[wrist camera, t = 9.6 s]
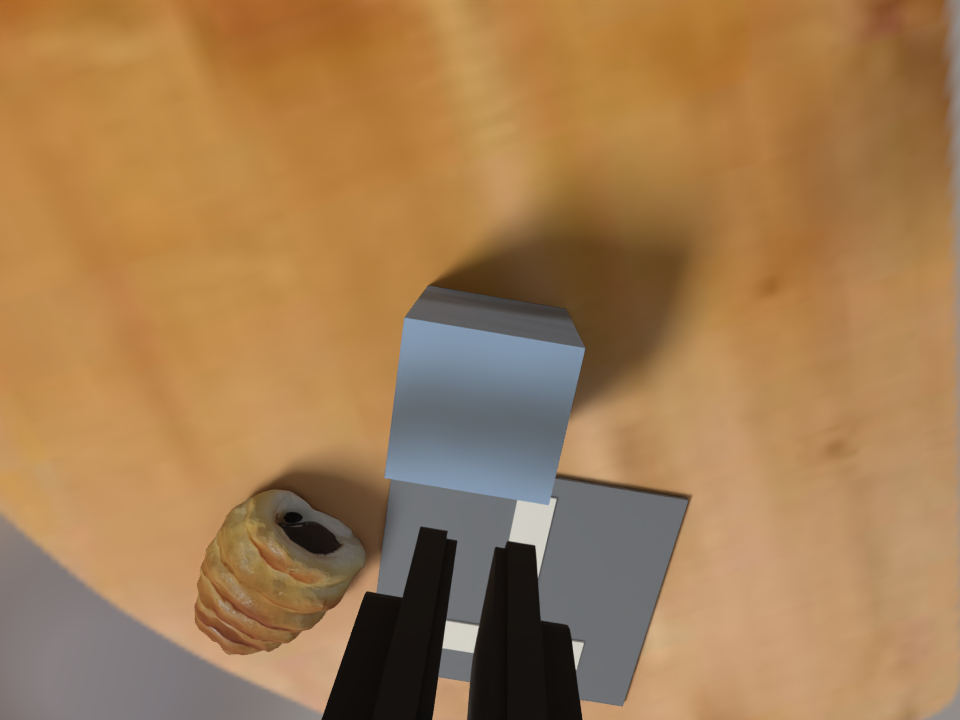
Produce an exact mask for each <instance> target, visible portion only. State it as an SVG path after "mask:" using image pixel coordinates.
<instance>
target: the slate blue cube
mask: <svg viewBox="0 0 960 720" xmlns="http://www.w3.org/2000/svg"><path fill="white" fill-rule="evenodd" d="M584 352H585V346H584V344H583V342H582V340H581V338H580V336H579V334H578V332H577V330H576V328H575V326H574V324H573V322H572V320H571V318H570V316H569V314H568V312H567V310H566V309H564V308H558V307H552V306H546V305H540V304H535V303H529V302H523V301H517V300H511V299H505V298H499V297H493V296H487V295H481V294H476V293H470V292H464V291H458V290H452V289H446V288H440V287H434V286H427V288H426V289H425V290H424V292H423V293H422V294H421V296H420V297H419V298H418V300H417V301H416V302H415V304H414V305H413V307H412V308H411V309H410V311H409V312H408V313H407V315H406V316H405V317H404V325H403V333H402V341H401V349H400V357H399V365H398V373H397V381H396V389H395V397H394V405H393V414H392V422H391V430H390V438H389V446H388V454H387V462H386V470H385V478H387V479H393V480H399V481H405V482H411V483H417V484H423V485H429V486H435V487H441V488H447V489H453V490H459V491H466V492H472V493H478V494H484V495H490V496H496V497H502V498H508V499H514V500H520V501H526V502H532V503H538V504H544V505H549V503H550V498H551V494H552V490H553V485H554V481H555V477H556V473H557V468H558V464H559V460H560V455H561V451H562V447H563V442H564V438H565V434H566V430H567V425H568V421H569V417H570V412H571V408H572V404H573V399H574V395H575V391H576V387H577V382H578V378H579V374H580V369H581V365H582V361H583V357H584Z"/></svg>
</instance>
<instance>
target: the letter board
mask: <svg viewBox="0 0 960 720" xmlns="http://www.w3.org/2000/svg"><path fill="white" fill-rule="evenodd" d="M687 503H688V499H687V498H683V497H677V496H671V495H665V494H659V493H653V492H647V491H640V490H634V489H628V488H622V487H616V486H610V485H604V484H598V483H592V482H586V481H579V480H573V479H567V478H561V477H555V481H554V485H553V490H552V494H551V498H550V503H549V505H544V504H538V503H532V502H526V501H520V500H514V499H508V498H502V497H496V496H490V495H484V494H478V493H472V492H466V491H459V490H453V489H447V488H441V487H435V486H429V485H423V484H417V483H411V482H405V481H399V480H393V479H391V483H390V491H389V499H388V507H387V515H386V522H385V530H384V538H383V546H382V554H381V562H380V570H379V578H378V586H377V593H379V594H385V595H391V596H397V597H403V593H404V589H405V585H406V581H407V578H408V574H409V570H410V566H411V562H412V558H413V554H414V550H415V546H416V542H417V538H418V534H419V530H420V527H421V526H422V527H428V528H434V529H440V530H446V531H448V533H447V539H452V540H457V548H456V555H455V562H454V569H453V576H452V583H451V590H450V597H449V604H448V612H447V619H446V626H445V633H444V640H443V647H442V654H441V661H440V668H439V675H438V677H441V678H447V679H454V680H460V681H466V682H470V678H471V667H472V659H473V653H474V648H475V643H476V638H477V633H478V628H479V623H480V618H481V613H482V608H483V603H484V598H485V593H486V588H487V583H488V578H489V573H490V568H491V563H492V559H493V554H494V549H495V547H501V548H505V545H506V542H507V541H512V542H518V543H524V544H530V545H535V547H536V557H537V572H538V586H539V601H540V615H541V620H542V621H548V622H554V623H560V624H566V625H568V626H569V628H570V632H571V638H572V645H573V653H574V660H575V668H576V675H577V683H578V690H579V698H580V700H585V701H592V702H598V703H604V704H610V705H617V706H623V703H624V700H625V697H626V694H627V691H628V688H629V685H630V681H631V678H632V675H633V672H634V669H635V666H636V663H637V660H638V656H639V653H640V650H641V647H642V644H643V641H644V638H645V635H646V631H647V628H648V625H649V622H650V619H651V616H652V613H653V610H654V606H655V603H656V600H657V597H658V594H659V591H660V588H661V585H662V581H663V578H664V575H665V572H666V569H667V566H668V563H669V560H670V556H671V553H672V550H673V547H674V544H675V541H676V538H677V534H678V531H679V528H680V525H681V522H682V519H683V516H684V513H685V509H686V506H687Z"/></svg>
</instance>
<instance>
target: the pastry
mask: <svg viewBox="0 0 960 720" xmlns="http://www.w3.org/2000/svg"><path fill="white" fill-rule="evenodd" d="M365 560H366V554H365V550H364V547H363V546H362V545H361V543H360V540H359V539H358V538H357V537H355V536H354V535H353V534H352V530H351V529H350V528H349V527H347V526H346V525H345V524H344V523H343V522H341V521H340V520H338V519H335V518H333V517H331V516H329V515H327V514H325V513H322V512H320V511H317V510H314V509H313V508H311V507H310V505H309V504H308V503H307V502H306V501H304V500H303V499H302V498H300V497H299V496H297V495H296V494H294V493H293V492H291V491H287V490H268V491H264V492H261V493H259V494H257V495H255V496H253V497H251V498H250V499H249V500H247V501H245V502H243V503H242V504H240V505H238V506H236V507H235V508H233V509H232V510H231V511H230V512H229V513H228V515H227V516H226V519H225V521H224V523H223V525H222V527H221V529H220V530H219V531H218V533H217V535H216V537H215V538H214V540H213V541H212V542H211V544H210V545H209V546H208V548H207V549H206V556H205V559H204V561H203V563H202V565H201V568H200V578H199V580H198V583H197V587H198V598H197V601H196V604H195V623H196V625H197V626H198V628H199V630H201V631H202V632H203V633H204V634H206V635H207V636H208V637H209V638H210V639H211V640H212V641H214V642H217V643H218V644H219V645H220V646H221V648H222V650H223V651H224V652H225V653H227V654H229V655H230V654H240V655H248V654H253V653H256V652H259V651H262V650H265V651H267V652H270V651H272V650H274V649H275V648H278V647H279V646H280V645H281V644H282V643H289V642H291V641H292V640H293V639H295V638H296V637H297V636H298V635H299V634H300V632H302V631H304V630H309V629H311V628H312V627H313V626H314V625H315V624H317V623H318V622H319V621H320V620H321V619H322V618H323V616H324V615H325V613H326V611H328V610H330V609H332V608H334V607H335V606H336V605H337V604H338V603H339V602H340V601H341V599H342V598H343V596H344V594H345V592H346V590H347V588H348V586H349V583H350V582H351V580H352V579H353V577H354V576H355V574H356V573H357V572H358V571H359V570H360V569H362V568H363V567H364V565H365Z"/></svg>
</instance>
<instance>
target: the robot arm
mask: <svg viewBox="0 0 960 720" xmlns="http://www.w3.org/2000/svg"><path fill="white" fill-rule="evenodd" d="M447 533H448V531H446V530H440V529H434V528H428V527H422V526H421V527H420V530H419V534H418V538H417V542H416V546H415V550H414V554H413V558H412V562H411V566H410V570H409V574H408V578H407V581H406V585H405V589H404V593H403V597H397V596H391V595H385V594H379V593H373V592H366V593H365V595H364V598H363V600H362V603H361V606H360V609H359V612H358V615H357V618H356V621H355V624H354V627H353V629H352V632H351V635H350V638H349V641H348V644H347V647H346V650H345V653H344V656H343V659H342V662H341V664H340V667H339V670H338V673H337V676H336V679H335V682H334V685H333V688H332V691H331V694H330V697H329V699H328V702H327V705H326V708H325V711H324V714H323V717H322V720H432V717H433V711H434V704H435V697H436V689H437V682H438V675H439V668H440V661H441V654H442V647H443V640H444V633H445V626H446V619H447V612H448V604H449V597H450V590H451V583H452V576H453V569H454V562H455V555H456V548H457V540H452V539H447ZM467 720H582V713H581V705H580V698H579V690H578V683H577V675H576V668H575V660H574V653H573V645H572V638H571V632H570V628H569V626H568V625H566V624H560V623H554V622H548V621H542V620H541V615H540V601H539V586H538V572H537V557H536V547H535V545H530V544H524V543H518V542H512V541H507V542H506V545H505V548H501V547H495V549H494V554H493V559H492V563H491V568H490V573H489V578H488V583H487V588H486V593H485V598H484V603H483V608H482V613H481V618H480V623H479V628H478V633H477V638H476V643H475V648H474V653H473V659H472V667H471V678H470V690H469V703H468V716H467Z"/></svg>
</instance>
